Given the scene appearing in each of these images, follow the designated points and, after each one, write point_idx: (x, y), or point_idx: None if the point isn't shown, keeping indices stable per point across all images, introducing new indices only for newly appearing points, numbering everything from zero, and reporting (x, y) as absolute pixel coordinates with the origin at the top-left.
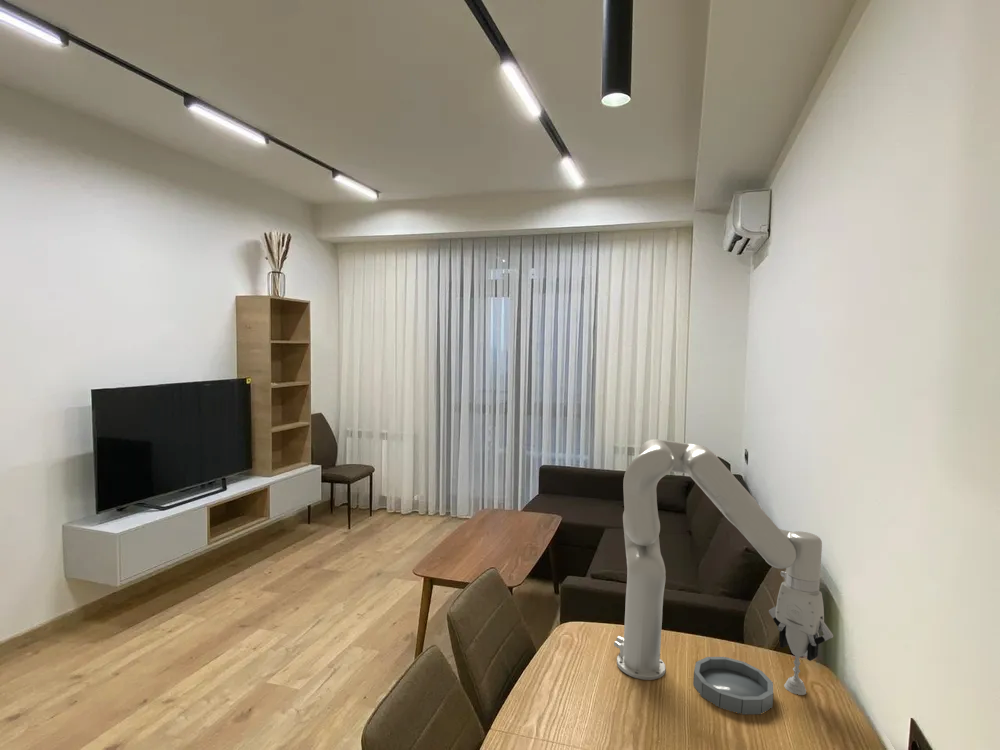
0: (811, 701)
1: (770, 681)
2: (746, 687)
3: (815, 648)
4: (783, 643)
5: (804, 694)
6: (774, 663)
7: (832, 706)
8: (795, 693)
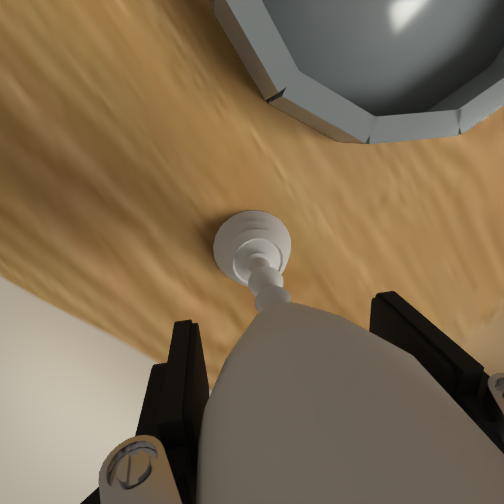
0: (172, 231)
1: (292, 92)
2: (356, 5)
3: (139, 432)
4: (388, 317)
5: (213, 247)
6: None
7: (120, 276)
8: (231, 218)
